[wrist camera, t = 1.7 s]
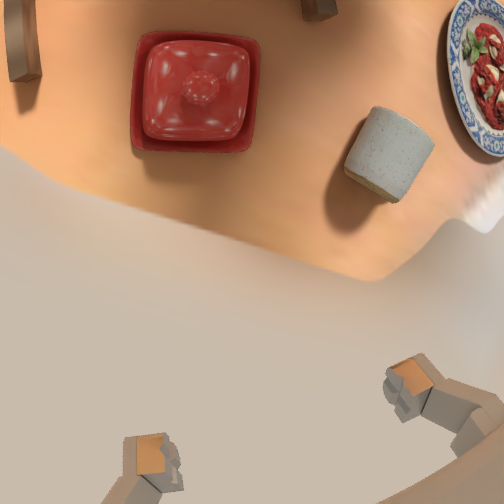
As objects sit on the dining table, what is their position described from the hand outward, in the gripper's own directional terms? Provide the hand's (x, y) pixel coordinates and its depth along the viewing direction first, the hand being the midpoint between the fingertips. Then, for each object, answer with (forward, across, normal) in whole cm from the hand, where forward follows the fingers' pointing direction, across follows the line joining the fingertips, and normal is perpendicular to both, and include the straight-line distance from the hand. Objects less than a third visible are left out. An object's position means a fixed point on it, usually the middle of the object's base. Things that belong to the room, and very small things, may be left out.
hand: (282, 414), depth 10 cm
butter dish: (+25, -1, -11) cm, 27 cm away
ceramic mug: (+25, -20, -2) cm, 32 cm away
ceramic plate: (+25, -44, -13) cm, 52 cm away
